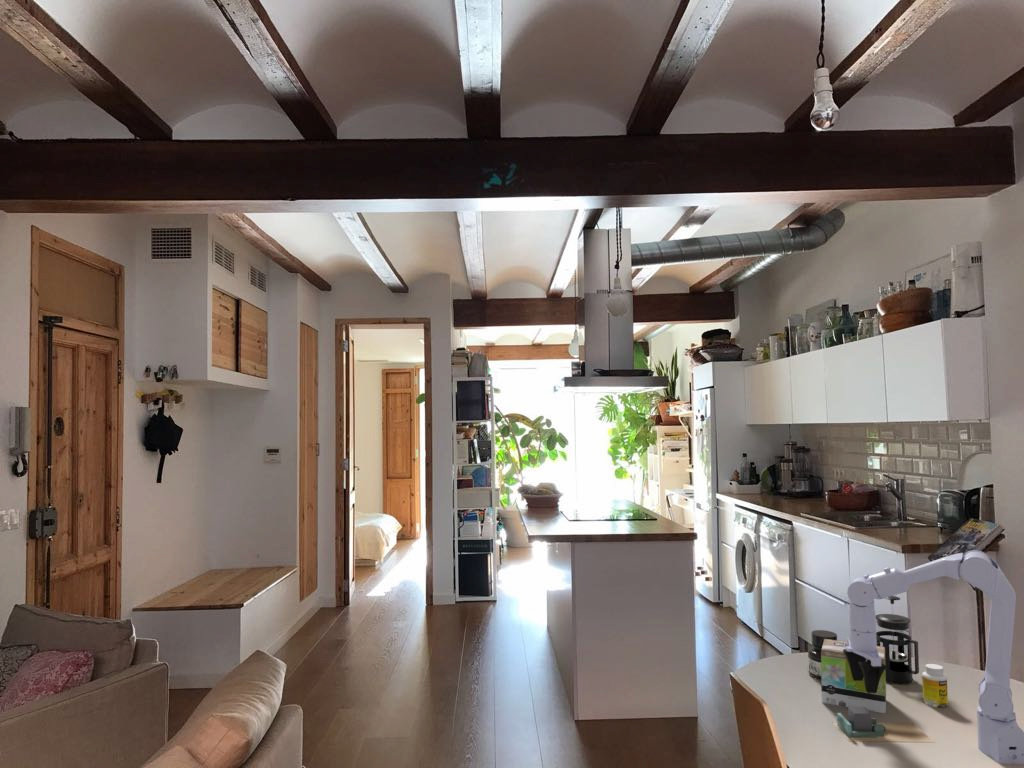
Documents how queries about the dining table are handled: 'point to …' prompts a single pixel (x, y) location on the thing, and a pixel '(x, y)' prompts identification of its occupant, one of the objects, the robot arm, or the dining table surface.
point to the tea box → (848, 680)
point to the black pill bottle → (818, 651)
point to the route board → (882, 732)
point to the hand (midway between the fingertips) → (864, 686)
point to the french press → (896, 660)
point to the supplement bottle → (934, 686)
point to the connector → (860, 719)
